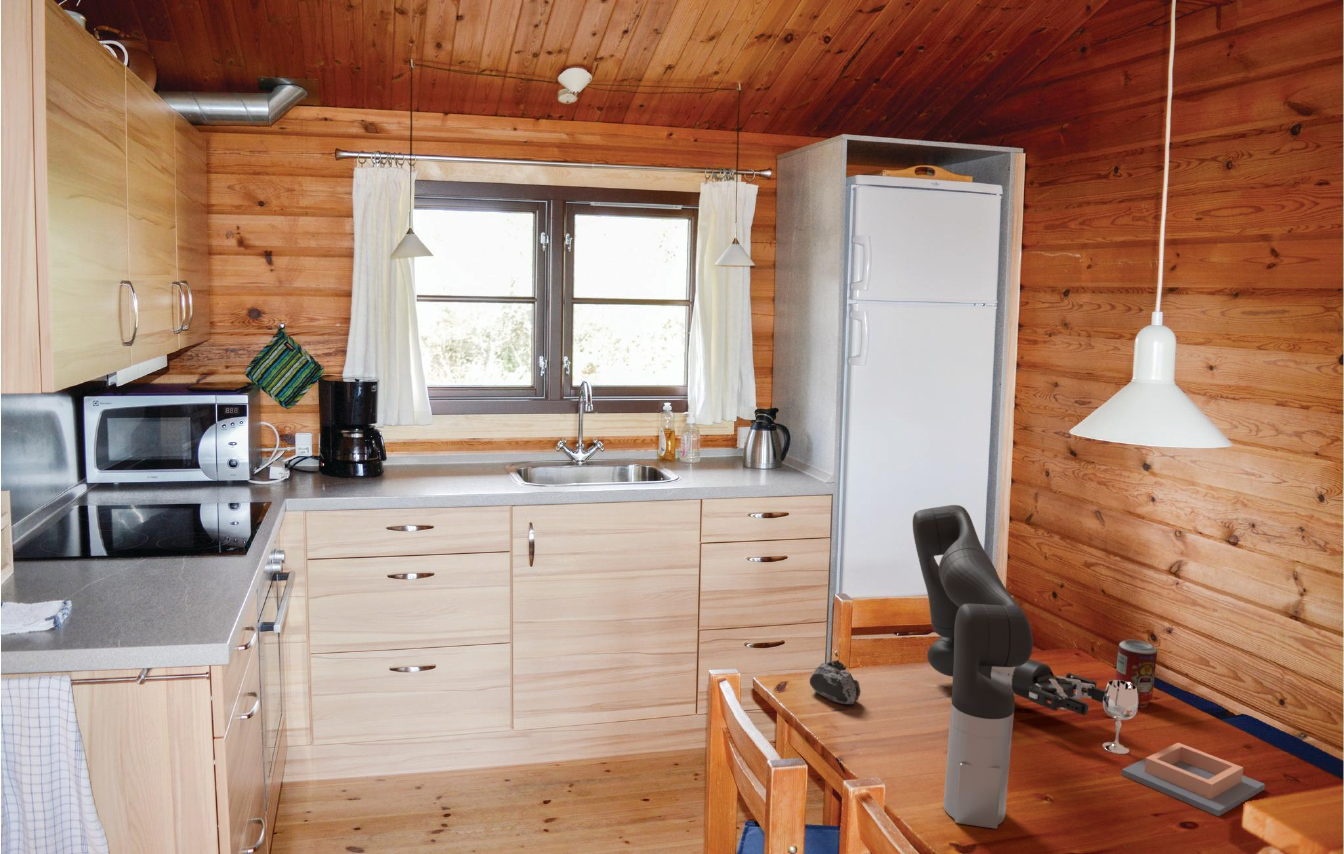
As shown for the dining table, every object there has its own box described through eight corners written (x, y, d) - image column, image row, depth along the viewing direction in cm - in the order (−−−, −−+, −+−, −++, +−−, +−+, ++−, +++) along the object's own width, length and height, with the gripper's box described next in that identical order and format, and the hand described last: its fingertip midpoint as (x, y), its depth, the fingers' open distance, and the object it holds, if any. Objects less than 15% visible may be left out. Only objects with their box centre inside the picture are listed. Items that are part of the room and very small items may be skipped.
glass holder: (1264, 789, 164) (1266, 769, 163) (1218, 816, 154) (1220, 795, 154) (1168, 751, 177) (1171, 733, 176) (1121, 774, 167) (1123, 755, 167)
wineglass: (1099, 738, 181) (1105, 676, 180) (1134, 745, 179) (1140, 682, 177) (1097, 750, 176) (1103, 686, 174) (1132, 758, 173) (1139, 693, 172)
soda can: (1131, 710, 194) (1137, 651, 193) (1105, 696, 201) (1111, 638, 199) (1159, 707, 197) (1166, 648, 195) (1133, 693, 203) (1138, 636, 202)
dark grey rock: (848, 713, 189) (882, 699, 195) (849, 679, 188) (882, 665, 194) (802, 693, 198) (835, 680, 204) (803, 660, 197) (836, 648, 203)
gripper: (1001, 664, 187) (1080, 693, 174) (1043, 650, 196) (1121, 676, 183) (998, 702, 188) (1076, 733, 175) (1040, 686, 197) (1118, 715, 184)
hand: (1099, 704), depth 179 cm, fingers open, 8 cm apart
